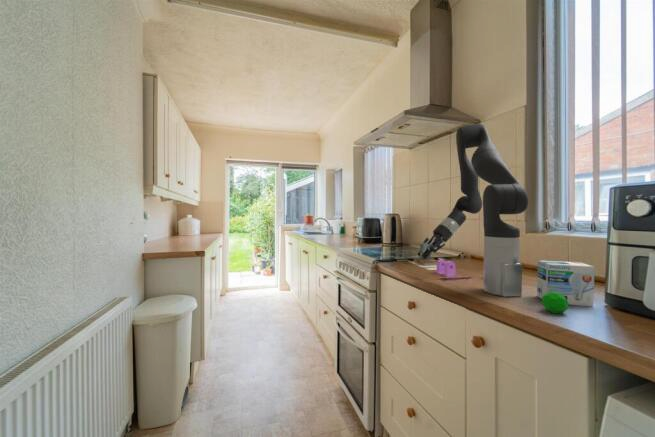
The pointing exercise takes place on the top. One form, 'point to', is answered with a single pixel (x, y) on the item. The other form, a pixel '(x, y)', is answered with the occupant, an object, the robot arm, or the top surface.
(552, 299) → the green lime
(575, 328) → the top surface
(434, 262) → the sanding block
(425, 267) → the board
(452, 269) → the bracket
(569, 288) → the light bulb box
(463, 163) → the robot arm
